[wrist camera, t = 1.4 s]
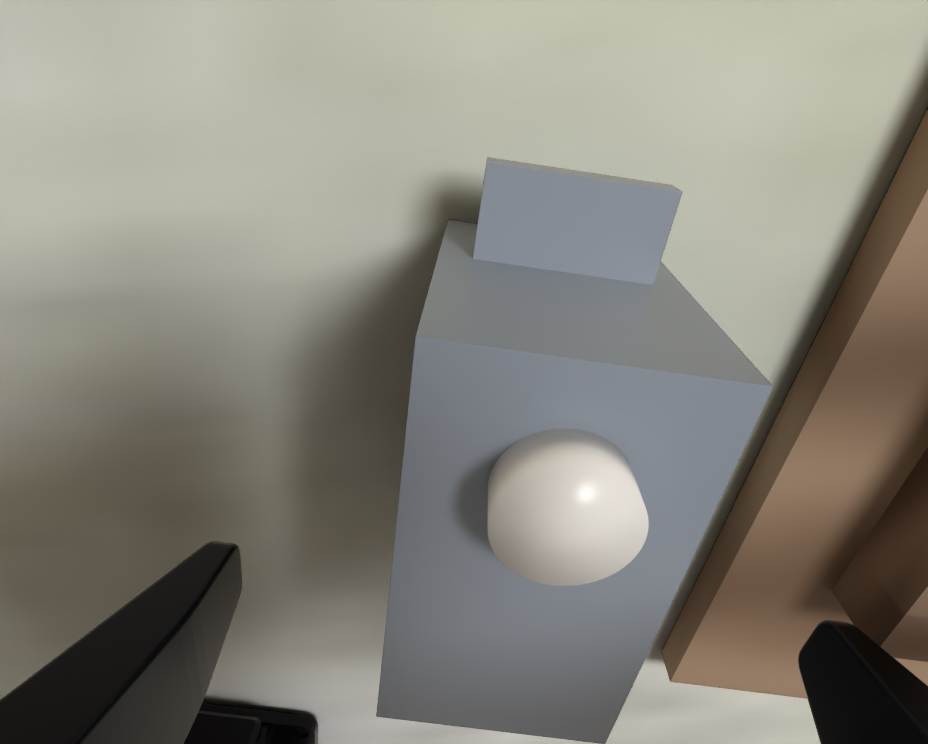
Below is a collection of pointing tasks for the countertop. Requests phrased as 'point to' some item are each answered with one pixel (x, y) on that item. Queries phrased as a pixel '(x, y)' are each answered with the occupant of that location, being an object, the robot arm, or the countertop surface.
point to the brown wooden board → (833, 481)
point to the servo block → (554, 456)
